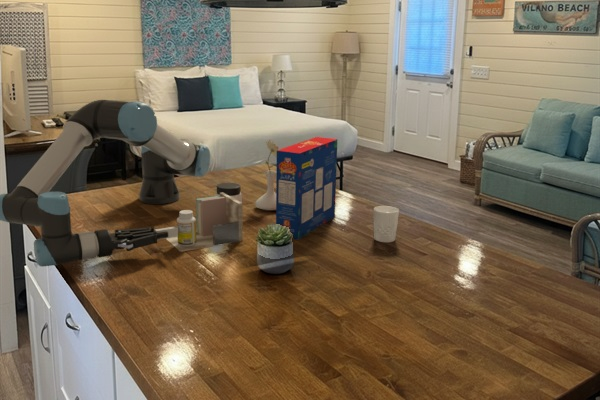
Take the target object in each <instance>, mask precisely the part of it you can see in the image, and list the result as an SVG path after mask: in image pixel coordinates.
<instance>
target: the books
mask: <svg viewBox="0 0 600 400" xmlns="http://www.w3.org/2000/svg"><path fill="white" fill-rule="evenodd" d="M195 202H196V203H195V205H196V207H195V208H196V210H195V211H196V232H198V233H199V234H200V235H202V236H203V237H204V236H210V235H213V225H219V224H225V223H227V221H226V197H221V196H216V195H214V196H209V197H208V196H207V197H202V198H201V197H199V198H196V199H195Z"/></svg>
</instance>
